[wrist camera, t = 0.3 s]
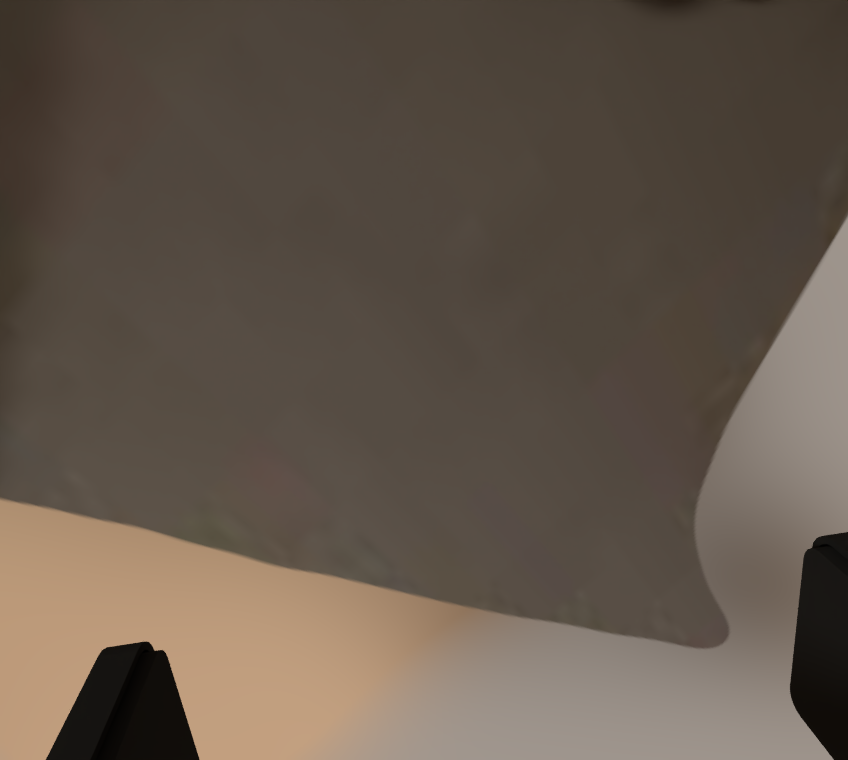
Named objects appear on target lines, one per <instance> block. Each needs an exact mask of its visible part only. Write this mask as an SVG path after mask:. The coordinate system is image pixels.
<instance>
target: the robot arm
mask: <svg viewBox="0 0 848 760" xmlns="http://www.w3.org/2000/svg"><path fill="white" fill-rule="evenodd" d="M790 693H791V698H792V701H793V704H794V706H795V708H796V710H797V712H798V713H799V715H800V716H801V718H802V719H803V720H804V722H805V723H806V724H807V726H808V727H809V728H810V729H811V731H812V732H813V733H814V735H815V736H816V737H817V738H818V740H819V741H820V742H821V744H822V745H823V746H824V747H825V749H826V750H827V751H828V753H829V754H830V755H831V756H832V758H833V759H834V760H848V532H846V533H839V534H833V535H826V536H821V537H818V538H817V539H816V540H815V541H814V542H813V547H812V548H811V549H808V550H807V551H806V552H805V555H804V560H803V569H802V580H801V588H800V598H799V607H798V616H797V626H796V636H795V645H794V654H793V663H792V674H791V683H790ZM46 760H199V757H198V753H197V750H196V747H195V744H194V741H193V737H192V734H191V731H190V728H189V724H188V721H187V718H186V715H185V712H184V708H183V705H182V702H181V699H180V696H179V692H178V689H177V686H176V683H175V680H174V677H173V673H172V670H171V667H170V664H169V660H168V657H167V655H166V653H165V652H164V651H163V650H158V651H154V649H153V647H152V645H151V644H150V643H149V642H140V643H133V644H127V645H120V646H114V647H107V648H106V649H103V650H102V651H101V653H100V655H99V656H98V658H97V660H96V662H95V664H94V665H93V667H92V669H91V671H90V674H89V675H88V677H87V679H86V681H85V683H84V686H83V687H82V689H81V691H80V693H79V695H78V697H77V699H76V701H75V703H74V705H73V707H72V709H71V711H70V713H69V715H68V717H67V719H66V721H65V723H64V725H63V727H62V729H61V731H60V733H59V735H58V737H57V739H56V741H55V743H54V745H53V747H52V749H51V751H50V753H49V755H48V757H47V759H46Z"/></svg>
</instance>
